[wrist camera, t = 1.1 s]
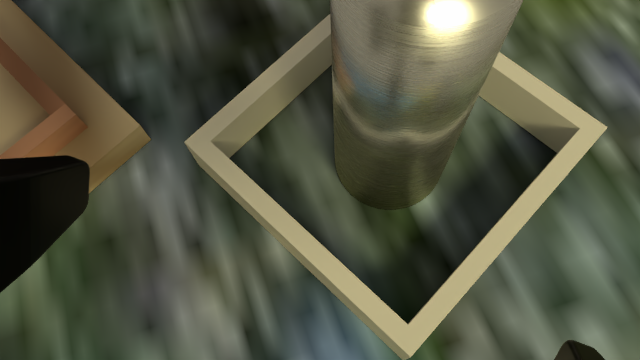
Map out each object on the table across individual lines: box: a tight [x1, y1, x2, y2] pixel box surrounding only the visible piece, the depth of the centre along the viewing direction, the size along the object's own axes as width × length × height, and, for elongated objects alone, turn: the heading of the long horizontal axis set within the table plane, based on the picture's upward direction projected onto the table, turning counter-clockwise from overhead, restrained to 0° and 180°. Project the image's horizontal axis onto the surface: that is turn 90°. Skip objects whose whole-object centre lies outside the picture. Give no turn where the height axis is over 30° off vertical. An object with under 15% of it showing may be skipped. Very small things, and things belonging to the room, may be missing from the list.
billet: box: [330, 0, 523, 210], centre depth 19 cm, size 5×5×13 cm
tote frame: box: [184, 14, 607, 360], centre depth 23 cm, size 13×13×2 cm
